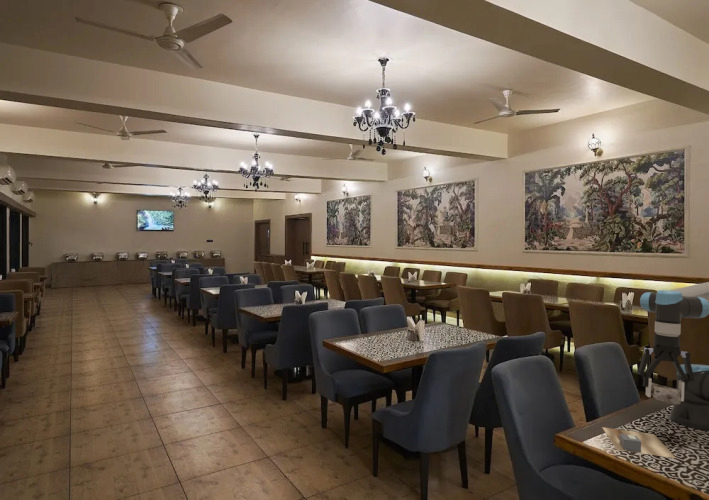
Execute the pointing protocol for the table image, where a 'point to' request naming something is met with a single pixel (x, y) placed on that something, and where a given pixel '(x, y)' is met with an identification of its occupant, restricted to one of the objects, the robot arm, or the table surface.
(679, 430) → the table surface
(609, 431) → the subfloor panel
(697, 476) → the table surface
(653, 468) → the table surface
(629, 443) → the block
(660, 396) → the stone
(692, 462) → the table surface
